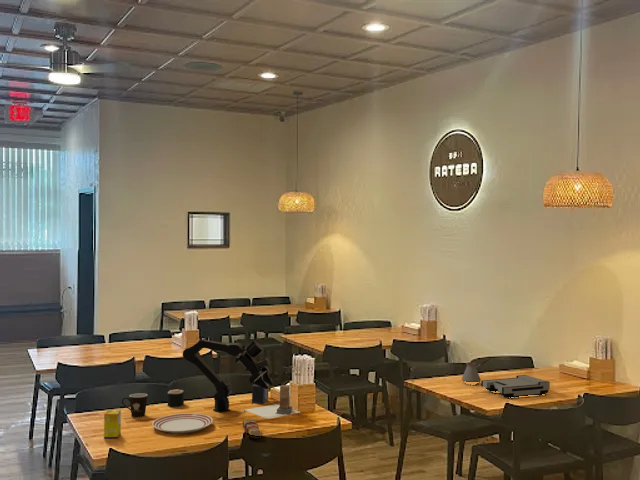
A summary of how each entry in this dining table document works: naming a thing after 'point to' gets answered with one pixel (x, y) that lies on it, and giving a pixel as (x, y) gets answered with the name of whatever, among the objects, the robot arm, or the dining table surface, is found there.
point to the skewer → (251, 427)
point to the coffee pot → (472, 372)
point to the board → (268, 411)
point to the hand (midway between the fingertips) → (270, 386)
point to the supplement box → (112, 424)
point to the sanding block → (284, 400)
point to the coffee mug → (137, 404)
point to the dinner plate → (182, 422)
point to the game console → (517, 386)
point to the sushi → (175, 398)
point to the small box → (259, 394)
